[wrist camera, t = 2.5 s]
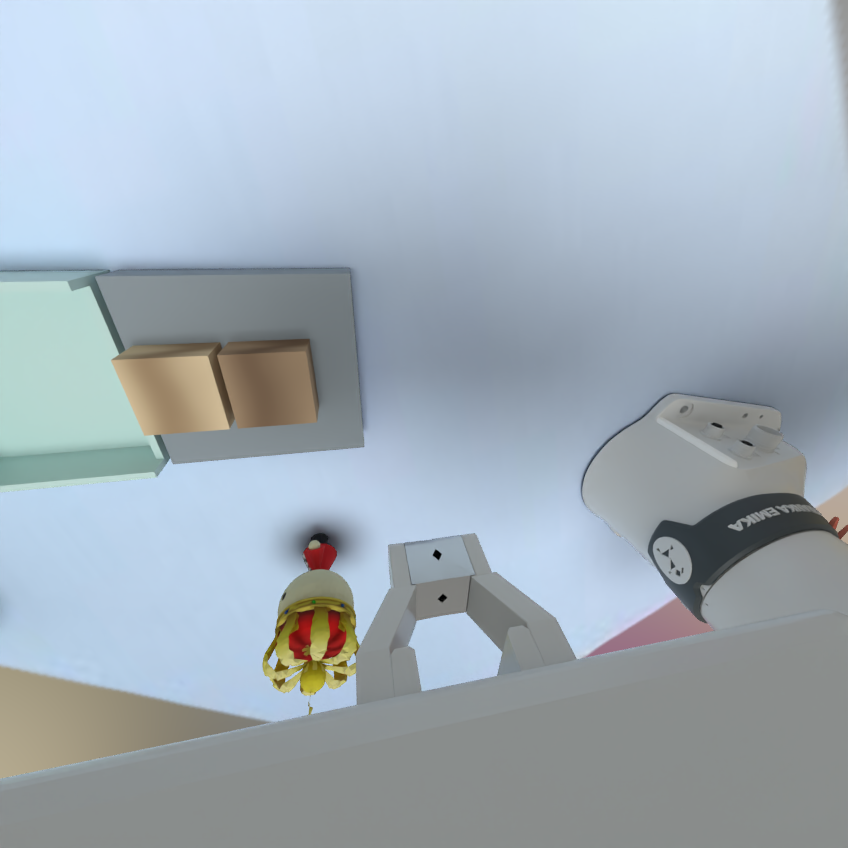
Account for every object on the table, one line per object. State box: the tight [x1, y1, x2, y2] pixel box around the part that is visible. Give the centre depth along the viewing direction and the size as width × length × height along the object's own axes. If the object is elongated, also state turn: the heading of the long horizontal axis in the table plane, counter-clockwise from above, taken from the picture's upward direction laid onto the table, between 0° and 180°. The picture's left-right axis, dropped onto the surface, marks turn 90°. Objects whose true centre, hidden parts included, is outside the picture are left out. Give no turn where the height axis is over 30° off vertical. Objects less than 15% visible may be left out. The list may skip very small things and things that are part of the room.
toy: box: [263, 534, 360, 715], centre depth 31 cm, size 7×7×15 cm
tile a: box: [111, 342, 235, 436], centre depth 23 cm, size 5×5×2 cm
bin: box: [0, 270, 170, 492], centre depth 22 cm, size 12×13×6 cm
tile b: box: [217, 339, 319, 429], centre depth 24 cm, size 5×5×2 cm
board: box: [95, 268, 364, 464], centre depth 26 cm, size 14×13×2 cm
